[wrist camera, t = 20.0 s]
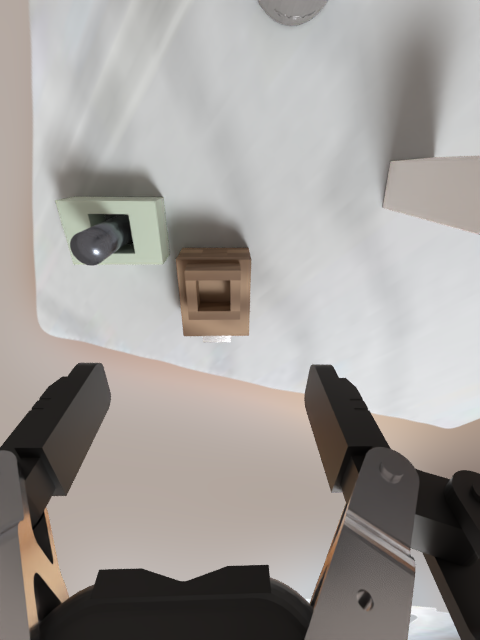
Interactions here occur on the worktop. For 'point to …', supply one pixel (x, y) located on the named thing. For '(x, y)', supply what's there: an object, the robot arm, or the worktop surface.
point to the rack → (143, 221)
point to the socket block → (214, 291)
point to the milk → (437, 190)
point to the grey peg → (101, 240)
